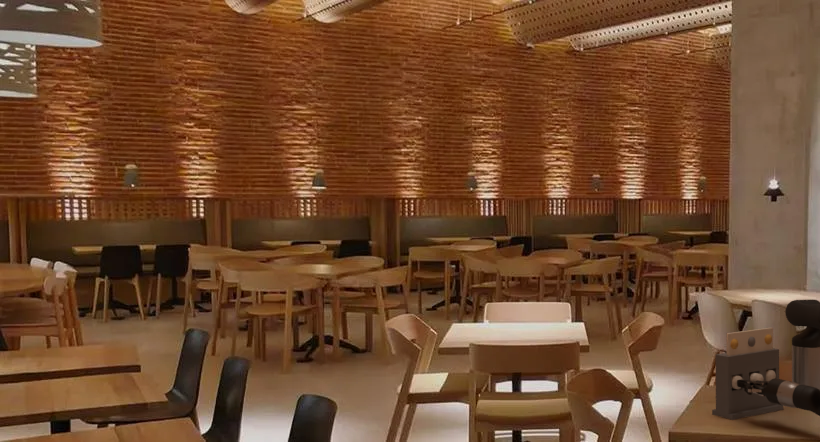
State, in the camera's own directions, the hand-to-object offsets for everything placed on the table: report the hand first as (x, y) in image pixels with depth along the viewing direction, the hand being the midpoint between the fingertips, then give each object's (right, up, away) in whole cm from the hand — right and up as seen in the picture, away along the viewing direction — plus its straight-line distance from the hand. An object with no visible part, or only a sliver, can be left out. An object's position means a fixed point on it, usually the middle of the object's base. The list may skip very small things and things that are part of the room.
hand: (738, 382), depth 270 cm
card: (+6, +9, +5) cm, 12 cm away
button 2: (+13, -2, +9) cm, 16 cm away
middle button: (+7, -2, +4) cm, 8 cm away
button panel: (+6, -11, +6) cm, 14 cm away
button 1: (-1, -2, +1) cm, 3 cm away
